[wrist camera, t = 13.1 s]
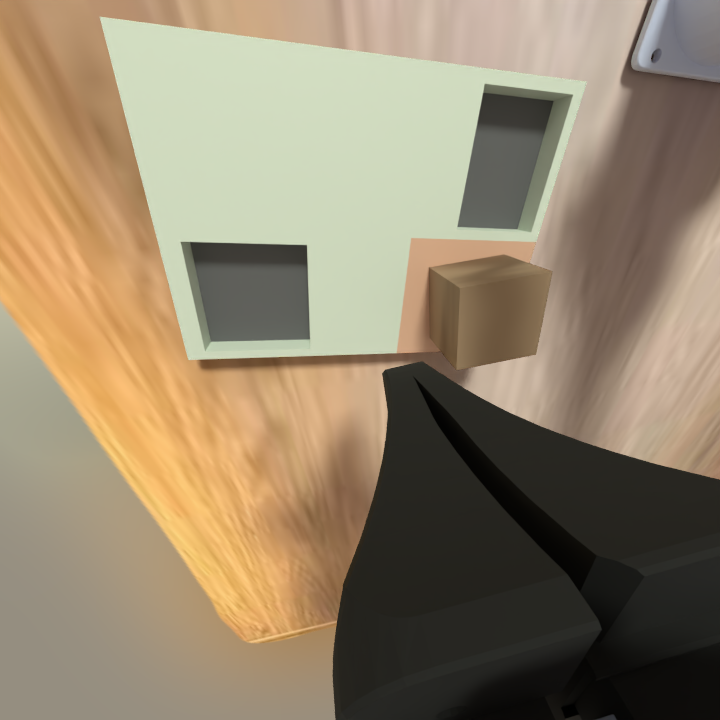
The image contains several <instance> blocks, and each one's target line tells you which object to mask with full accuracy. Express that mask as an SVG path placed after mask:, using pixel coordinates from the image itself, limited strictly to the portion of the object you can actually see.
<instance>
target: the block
mask: <svg viewBox="0 0 720 720" xmlns="http://www.w3.org/2000/svg"><path fill="white" fill-rule="evenodd" d="M551 276H552V271H550V270H547V269H544V268H541V267H538V266H536V265H533V264H530V263H527V262H524V261H521V260H519V259H516V258H513V257H510V256H507V255H505V254H503V255H497V256H492V257H486V258H480V259H474V260H469V261H463V262H457V263H451V264H445V265H440V266H434V267H429V321H430V339H431V340H432V341H433V342H434V344H435V345H436V346H437V347H438V349H439V350H440V351H441V352H442V353H443V355H444V356H445V357H446V358H447V360H448V361H449V362H450V363H451V364H452V366H453V367H454V368H455V369H456V370H461V369H466V368H471V367H476V366H481V365H486V364H491V363H496V362H501V361H506V360H511V359H516V358H521V357H526V356H531V355H536V352H537V347H538V342H539V337H540V332H541V327H542V322H543V317H544V312H545V307H546V301H547V296H548V291H549V286H550V281H551Z"/></svg>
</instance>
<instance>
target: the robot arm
mask: <svg viewBox="0 0 720 720" xmlns="http://www.w3.org/2000/svg"><path fill="white" fill-rule="evenodd" d="M652 54H654V57H653V60H652V62H651V56H652ZM631 66H632V68H633V69H634V70H636V71H642V72H649V73H656V74H663V75H670V76H677V77H684V78H691V79H698V80H705V81H711V82H718V83H720V0H652V3H651V6H650V8H649V11H648V14H647V17H646V19H645V22H644V25H643V28H642V30H641V33H640V36H639V39H638V42H637V44H636V47H635V50H634V53H633V55H632V60H631ZM382 375H383V381H384V388H385V395H386V401H387V408H388V420H387V432H386V441H385V448H384V454H383V459H382V464H381V469H380V473H379V478H378V482H377V486H376V490H375V494H374V498H373V501H372V504H371V507H370V511H369V514H368V517H367V520H366V524H365V527H364V530H363V533H362V536H361V539H360V541H359V544H358V547H357V549H356V552H355V555H354V557H353V560H352V563H351V565H350V568H349V570H348V573H347V576H346V578H345V581H344V584H343V591H342V596H341V602H340V608H339V614H338V620H337V627H336V635H335V643H334V653H333V687H334V703H335V718H336V720H720V480H719V479H715V478H710V477H706V476H702V475H698V474H694V473H690V472H686V471H682V470H678V469H673V468H669V467H665V466H661V465H657V464H653V463H650V462H646V461H643V460H639V459H636V458H632V457H629V456H626V455H622V454H619V453H615V452H612V451H609V450H606V449H602V448H599V447H596V446H593V445H590V444H587V443H584V442H581V441H578V440H576V439H573V438H570V437H567V436H565V435H562V434H559V433H556V432H554V431H551V430H549V429H546V428H543V427H541V426H538V425H536V424H534V423H532V422H529V421H527V420H525V419H522V418H520V417H518V416H516V415H513V414H511V413H509V412H507V411H505V410H503V409H501V408H499V407H497V406H495V405H493V404H491V403H489V402H488V401H486V400H484V399H482V398H480V397H478V396H476V395H475V394H473V393H471V392H469V391H468V390H466V389H464V388H463V387H461V386H459V385H458V384H456V383H455V382H453V381H451V380H450V379H448V378H447V377H445V376H444V375H442V374H441V373H439V372H438V371H436V370H434V369H433V368H431V367H430V366H428V365H427V364H425V363H424V362H417V363H413V364H408V365H404V366H400V367H395V368H391V369H387V370H385V371H384V372H383V373H382Z"/></svg>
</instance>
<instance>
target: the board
mask: <svg viewBox="0 0 720 720" xmlns="http://www.w3.org/2000/svg"><path fill="white" fill-rule="evenodd" d="M100 20H101V24H102V27H103V31H104V35H105V39H106V43H107V47H108V51H109V55H110V58H111V62H112V66H113V70H114V74H115V78H116V82H117V86H118V89H119V93H120V97H121V101H122V105H123V109H124V113H125V116H126V120H127V124H128V128H129V132H130V136H131V140H132V144H133V147H134V151H135V155H136V159H137V163H138V167H139V171H140V175H141V178H142V182H143V186H144V190H145V194H146V198H147V202H148V206H149V209H150V213H151V217H152V221H153V225H154V229H155V233H156V236H157V240H158V244H159V248H160V252H161V256H162V260H163V264H164V267H165V271H166V275H167V279H168V283H169V287H170V291H171V295H172V298H173V302H174V306H175V310H176V314H177V318H178V322H179V326H180V329H181V333H182V337H183V341H184V345H185V349H186V353H187V356H188V360H201V359H232V358H263V357H294V356H325V355H356V354H387V353H418V352H441V351H440V350H439V349H438V347H437V346H436V345H435V344H434V342H433V341H432V340H431V339H430V321H429V267H434V266H440V265H445V264H451V263H457V262H463V261H469V260H474V259H480V258H486V257H492V256H497V255H503V254H505V255H507V256H510V257H513V258H516V259H519V260H521V261H524V262H527V263H530V260H531V257H532V254H533V250H534V247H535V244H536V241H537V238H538V235H539V231H540V228H541V225H542V222H543V219H544V216H545V212H546V209H547V206H548V203H549V200H550V197H551V194H552V190H553V187H554V184H555V181H556V178H557V175H558V171H559V168H560V165H561V162H562V159H563V156H564V153H565V149H566V146H567V143H568V140H569V137H570V134H571V130H572V127H573V124H574V121H575V118H576V115H577V112H578V108H579V105H580V102H581V99H582V96H583V93H584V89H585V86H586V83H587V82H585V81H577V80H570V79H562V78H555V77H547V76H540V75H533V74H525V73H518V72H510V71H503V70H495V69H488V68H480V67H473V66H465V65H458V64H450V63H443V62H435V61H428V60H420V59H413V58H405V57H398V56H390V55H383V54H375V53H368V52H360V51H353V50H345V49H338V48H330V47H323V46H315V45H308V44H300V43H293V42H285V41H278V40H270V39H263V38H255V37H248V36H240V35H233V34H225V33H218V32H210V31H203V30H195V29H188V28H180V27H173V26H165V25H158V24H150V23H143V22H135V21H128V20H120V19H113V18H106V17H100Z"/></svg>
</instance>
